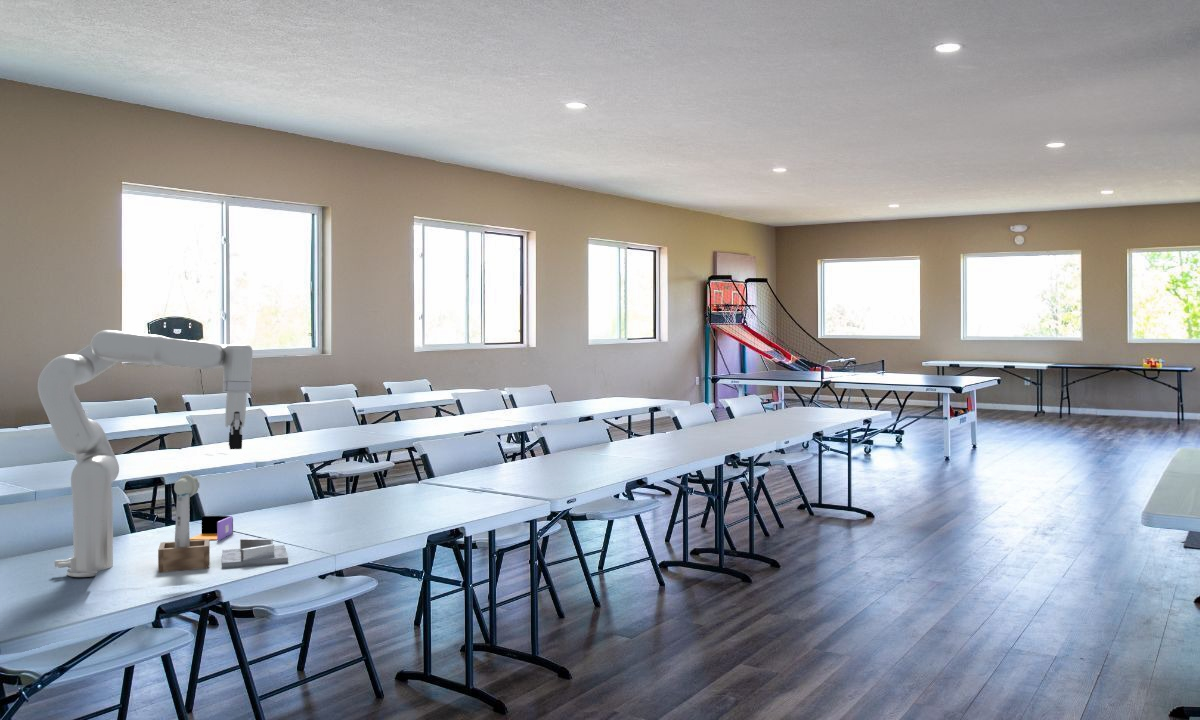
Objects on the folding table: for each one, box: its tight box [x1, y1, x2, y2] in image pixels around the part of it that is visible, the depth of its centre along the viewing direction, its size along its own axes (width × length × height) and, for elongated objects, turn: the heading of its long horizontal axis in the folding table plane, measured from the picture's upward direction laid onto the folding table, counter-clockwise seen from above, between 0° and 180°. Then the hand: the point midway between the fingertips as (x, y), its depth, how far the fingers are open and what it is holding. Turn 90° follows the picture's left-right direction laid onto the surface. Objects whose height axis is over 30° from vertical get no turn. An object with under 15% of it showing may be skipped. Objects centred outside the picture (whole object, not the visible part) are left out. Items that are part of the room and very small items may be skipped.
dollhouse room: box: [190, 515, 234, 542], centre depth 286 cm, size 12×12×7 cm
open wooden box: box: [157, 539, 211, 573], centre depth 248 cm, size 12×10×6 cm
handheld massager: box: [173, 474, 200, 548], centre depth 248 cm, size 5×7×25 cm
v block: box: [221, 538, 289, 569], centre depth 257 cm, size 17×18×4 cm
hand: (235, 447), depth 258 cm, fingers open, 9 cm apart
